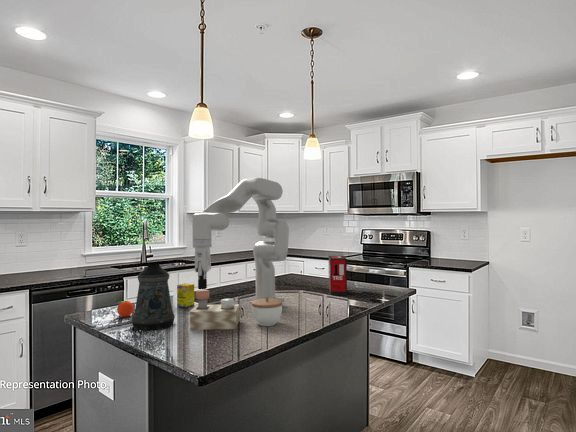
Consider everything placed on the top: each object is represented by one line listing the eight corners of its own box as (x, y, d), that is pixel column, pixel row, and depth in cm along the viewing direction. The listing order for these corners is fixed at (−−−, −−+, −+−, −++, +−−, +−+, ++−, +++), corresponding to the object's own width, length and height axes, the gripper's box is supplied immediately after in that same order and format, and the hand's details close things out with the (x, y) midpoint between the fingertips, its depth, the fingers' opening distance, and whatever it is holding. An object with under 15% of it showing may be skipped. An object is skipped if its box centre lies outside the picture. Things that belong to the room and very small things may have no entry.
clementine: (113, 319, 173) (113, 302, 173) (115, 315, 179) (115, 299, 179) (133, 317, 175) (132, 301, 175) (134, 314, 181) (134, 298, 181)
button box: (239, 320, 168) (238, 304, 168) (235, 329, 156) (235, 311, 156) (196, 321, 168) (196, 304, 168) (189, 329, 156) (189, 311, 156)
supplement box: (177, 307, 194) (176, 284, 194) (185, 304, 199) (185, 282, 199) (186, 308, 191) (186, 285, 191) (194, 305, 197) (194, 283, 197)
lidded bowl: (266, 318, 172) (266, 292, 172) (288, 323, 164) (288, 296, 164) (245, 324, 162) (245, 297, 162) (268, 330, 154) (268, 301, 154)
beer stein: (138, 334, 151) (137, 268, 151) (125, 323, 166) (124, 263, 166) (180, 326, 160) (180, 264, 160) (164, 316, 176) (164, 260, 176)
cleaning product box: (346, 295, 219) (346, 258, 219) (330, 295, 220) (330, 258, 220) (343, 289, 236) (343, 255, 236) (328, 289, 236) (328, 255, 236)
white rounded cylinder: (234, 320, 165) (234, 298, 164) (233, 323, 159) (233, 301, 159) (222, 320, 164) (222, 298, 164) (220, 323, 159) (220, 301, 159)
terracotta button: (210, 311, 164) (210, 289, 164) (208, 314, 159) (207, 291, 159) (197, 311, 164) (197, 289, 164) (195, 314, 159) (194, 292, 159)
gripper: (208, 244, 154) (208, 292, 154) (214, 242, 169) (214, 285, 169) (188, 245, 154) (188, 292, 154) (196, 242, 169) (197, 285, 169)
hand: (202, 288), depth 162 cm, fingers closed
